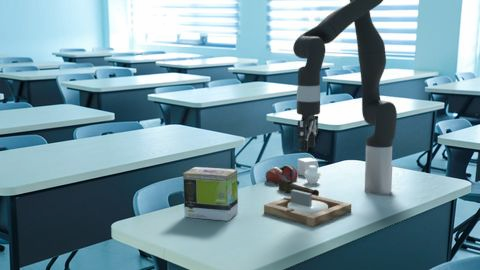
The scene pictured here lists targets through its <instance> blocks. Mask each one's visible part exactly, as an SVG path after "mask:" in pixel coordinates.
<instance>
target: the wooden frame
mask: <svg viewBox="0 0 480 270" xmlns="http://www.w3.org/2000/svg"><path fill="white" fill-rule="evenodd" d="M312 200H315V201H320V202H323V203H326V204H327V205H328V209H326V210H323V211H320V212H318V213H315V214H308V213H304V212H300V211H297V210H294V209H292V208H291V209H289V208H288V204H289V203H290V202H291V195H290V196H286V197H283V198H281V199H278V200H274V201H272V202H268V203H265V204H263V214H266V215H269V216H273V217H276V218H280V219H283V220H286V221H290V222H294V223H296V224H297V223H298V224H301V225H304V226H308V227H312V228H315V227H318V226H320V225H323V224H325V223H328V222H330V221H333V220H336V219H338V218H341V217H343V216H345V215H348V214H351V213H352V203H348V202H344V201H340V200H338V199H337V200H336V199H332V198H328V197H322V196H316V195H312Z"/></svg>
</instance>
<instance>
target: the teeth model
mask: <svg viewBox="0 0 480 270" xmlns="http://www.w3.org/2000/svg"><path fill="white" fill-rule="evenodd" d="M265 179H266V182H270V183H274V184H276V185H278V184H279V181H280V180H281V179H287V180H289V181H292V182H297V181H298V173H297V169H296V168H295V167H294V166H289V165H283V166H282V167H281V168H279V167H276V166H274V167H271V168H270V169H269V170H268V171H266V172H265Z"/></svg>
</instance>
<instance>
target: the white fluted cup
mask: <svg viewBox="0 0 480 270" xmlns="http://www.w3.org/2000/svg"><path fill="white" fill-rule="evenodd" d="M304 174H305V176H304V177H305V179H306V182H307V184H311V185H315V184H317V183H318V181H319V179H320V178H321V175H322V174H321V172H320V171H319V168H318V169H317V167H316V166H314V165H311V166H309V167H308V169H307V171H305V173H304Z"/></svg>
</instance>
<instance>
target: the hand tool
mask: <svg viewBox="0 0 480 270" xmlns="http://www.w3.org/2000/svg"><path fill="white" fill-rule="evenodd" d="M277 186H278V190H280V192H283V193H285V194H291V190H298V191H302V192H306V193H311V194H312V195H316V196H319V194H320V191H319V190H317V189H312V188H309V187H307V186H306V187H305V186H302V185H298V184H295V183H294V182H293V181H292V180H289V179H281V180H280V181H279V184H277Z"/></svg>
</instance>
